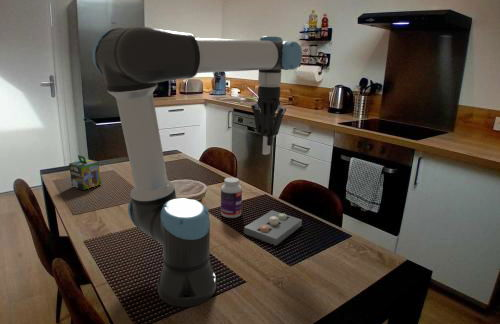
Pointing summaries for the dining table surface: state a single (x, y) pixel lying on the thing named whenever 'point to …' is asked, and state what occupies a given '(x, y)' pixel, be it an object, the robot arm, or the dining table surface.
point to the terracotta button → (264, 228)
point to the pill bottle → (231, 198)
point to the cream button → (274, 221)
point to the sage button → (282, 216)
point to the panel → (273, 228)
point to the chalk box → (85, 173)
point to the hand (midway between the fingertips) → (266, 153)
